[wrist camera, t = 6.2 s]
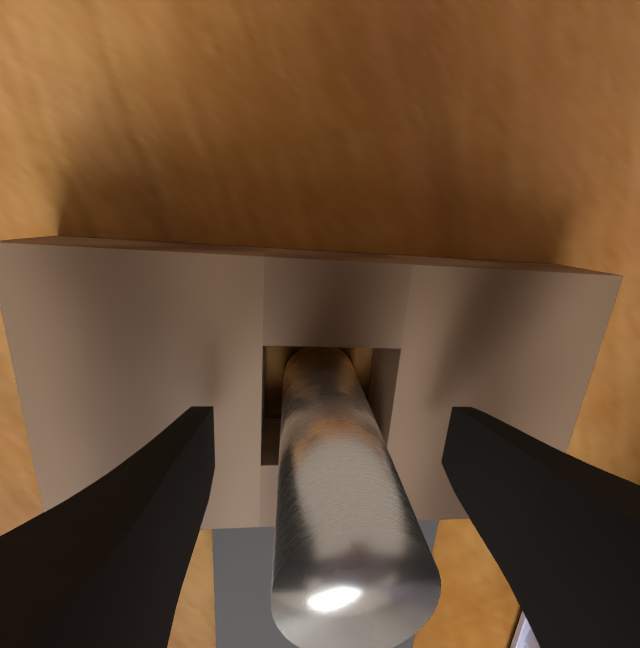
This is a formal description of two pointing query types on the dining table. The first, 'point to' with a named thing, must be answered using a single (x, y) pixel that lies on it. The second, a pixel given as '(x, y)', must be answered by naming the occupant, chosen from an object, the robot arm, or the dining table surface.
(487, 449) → the robot arm
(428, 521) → the mat
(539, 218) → the dining table surface
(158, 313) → the hole block
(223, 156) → the dining table surface
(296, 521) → the peg
